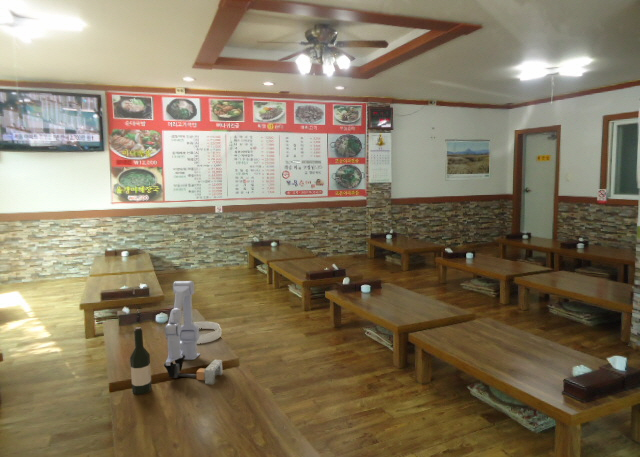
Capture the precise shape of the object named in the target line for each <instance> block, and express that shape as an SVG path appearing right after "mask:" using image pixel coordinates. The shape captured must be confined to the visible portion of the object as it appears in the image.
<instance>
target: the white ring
mask: <svg viewBox="0 0 640 457" xmlns="http://www.w3.org/2000/svg"><path fill="white" fill-rule="evenodd" d="M193 323H194V324H196V325H197V326H198V328H200V329H199V330H204V329H206V330H214V331H211V332H208V333H203V334H201V333H200V335H199V339H198V340H197V345H199V344H200V343H201V344H207V343H210V342H214V341H216V340H218V339H219V338H220V337H221V336H222V333H223V332H222V328H221V326H220V324H219V323H218V322H216V321H207V320H205V321H193ZM201 328H202V329H201Z"/></svg>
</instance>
